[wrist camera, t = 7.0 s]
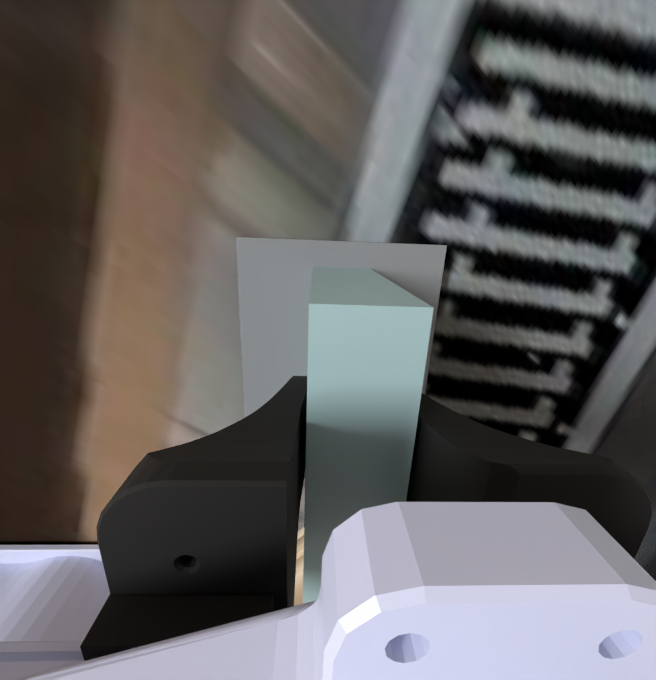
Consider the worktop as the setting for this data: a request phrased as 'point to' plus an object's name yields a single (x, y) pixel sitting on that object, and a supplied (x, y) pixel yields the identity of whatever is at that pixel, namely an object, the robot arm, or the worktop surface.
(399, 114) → the worktop surface
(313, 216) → the worktop surface
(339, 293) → the tall board
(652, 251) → the worktop surface
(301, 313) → the slate mat
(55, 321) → the worktop surface
